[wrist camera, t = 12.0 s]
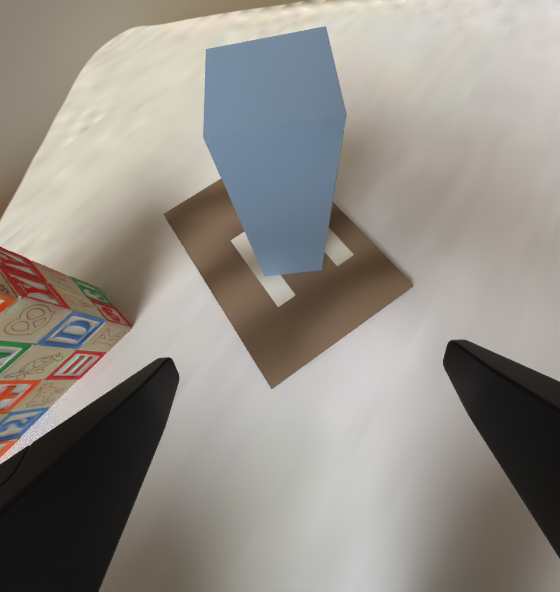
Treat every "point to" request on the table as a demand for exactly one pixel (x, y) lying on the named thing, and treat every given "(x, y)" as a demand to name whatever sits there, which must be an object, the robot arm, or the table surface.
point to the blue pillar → (277, 142)
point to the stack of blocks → (46, 339)
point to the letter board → (285, 284)
